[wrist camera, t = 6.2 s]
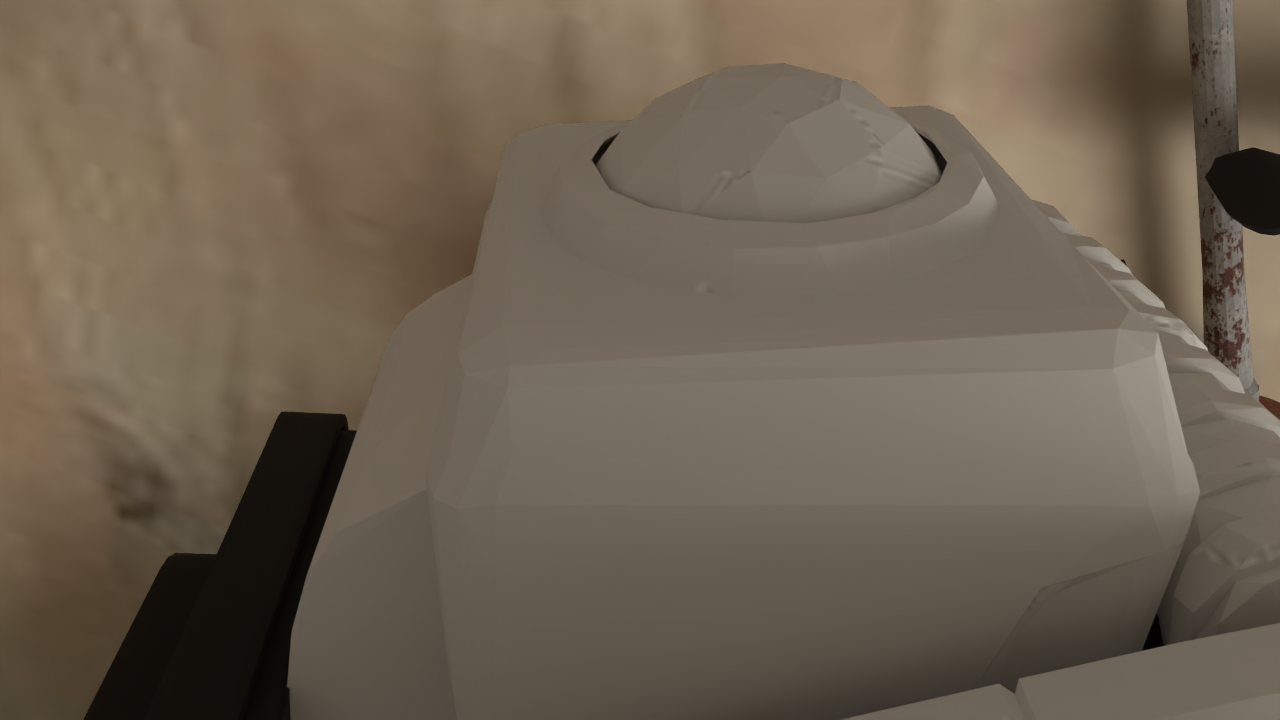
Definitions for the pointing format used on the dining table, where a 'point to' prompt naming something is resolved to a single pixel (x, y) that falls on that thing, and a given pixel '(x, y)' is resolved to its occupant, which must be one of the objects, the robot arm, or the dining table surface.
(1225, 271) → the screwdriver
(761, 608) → the grey knobbed block
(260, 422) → the dining table surface
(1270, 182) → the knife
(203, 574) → the robot arm
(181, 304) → the dining table surface
